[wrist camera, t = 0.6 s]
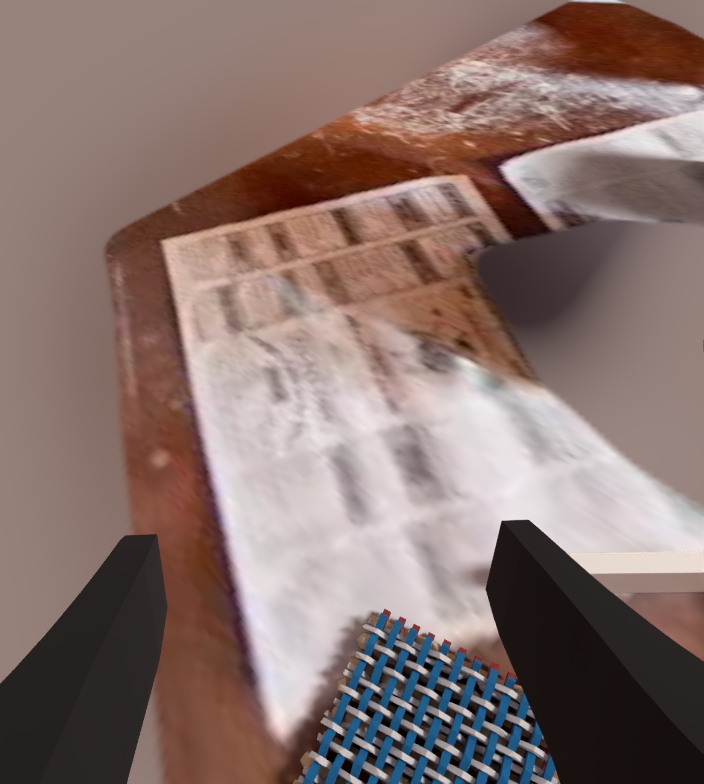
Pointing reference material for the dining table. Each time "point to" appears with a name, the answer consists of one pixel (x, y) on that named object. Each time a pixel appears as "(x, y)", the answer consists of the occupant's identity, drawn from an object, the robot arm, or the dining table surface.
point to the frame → (645, 571)
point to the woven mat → (425, 718)
